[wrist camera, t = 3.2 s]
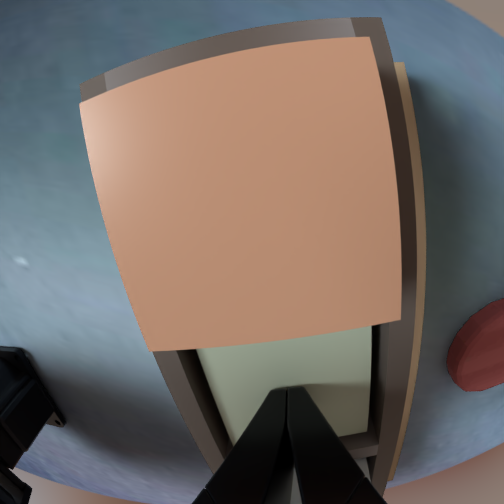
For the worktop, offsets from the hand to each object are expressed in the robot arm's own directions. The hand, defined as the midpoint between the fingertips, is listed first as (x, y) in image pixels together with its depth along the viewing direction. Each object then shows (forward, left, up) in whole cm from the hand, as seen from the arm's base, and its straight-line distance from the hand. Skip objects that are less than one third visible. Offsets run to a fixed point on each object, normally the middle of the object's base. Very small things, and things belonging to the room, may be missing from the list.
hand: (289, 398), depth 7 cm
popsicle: (+15, -5, -6) cm, 17 cm away
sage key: (0, 0, -3) cm, 3 cm away
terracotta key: (0, +5, -1) cm, 5 cm away
